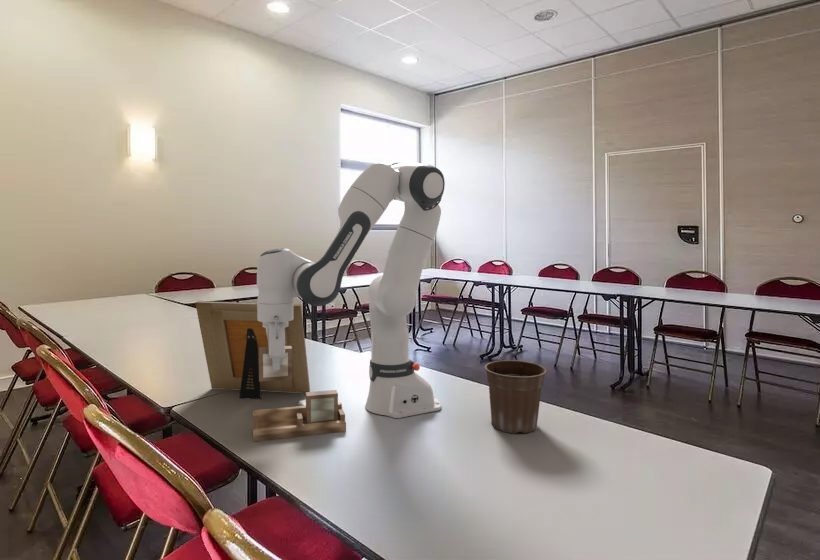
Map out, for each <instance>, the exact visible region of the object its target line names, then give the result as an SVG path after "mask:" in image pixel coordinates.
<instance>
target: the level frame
mask: <svg viewBox="0 0 820 560" xmlns="http://www.w3.org/2000/svg"><path fill="white" fill-rule="evenodd" d="M338 397H339V393H338V391H337V389H331V390H330V389H329V390H317V391H310V392H306V393H305V400H306V424H310V423H320V422H329V421H338V403H339V398H338Z"/></svg>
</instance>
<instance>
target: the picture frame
mask: <svg viewBox="0 0 820 560" xmlns="http://www.w3.org/2000/svg"><path fill="white" fill-rule="evenodd" d="M194 304H195V308H196V314H197V319H198V324H199V329H200V333H201V339H202V344H203V349H204V355H205V360H206V365H207V371H208V376H209V380H210V381H209V382H210V386H211V389H221V390H236V391H237V390H239V396H238V397H239V399H244V398H250V399H249V400H262V396H261V395H262V393H261V392H276V393H278V392H280V393H282V392H283V393H295V394H296V393H298V394H299V393H300V394H301V393H302V394H306V392H311V386H310V377H309V368H308V357H307V349H306V348H307V347H306V339H305V330H304V329H305V327H304V319H303V310H302V304H301V303H300V304H298V303H293V320H292V321H288V327H285V328H284V329H285V346H291V347H292V379H289V380H275V381H260V382H259V347H268V339H267V334H266V328H264V327H263V325H262V324H263V323H262V322H259V321H258V320H257V302H241V301H239V302H238V301H237V302H235V301H232V302H231V301H205V300H204V301H202V300H201V301H200V300H199V301H195V303H194Z"/></svg>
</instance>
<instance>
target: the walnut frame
mask: <svg viewBox="0 0 820 560" xmlns="http://www.w3.org/2000/svg"><path fill="white" fill-rule="evenodd" d="M289 379H292V347H291V346H285V357H283V358H281V359H280V369H279V370H273V368H272V358H270V357H269V349H268V347H259V382H260V381H275V380H289Z"/></svg>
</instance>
